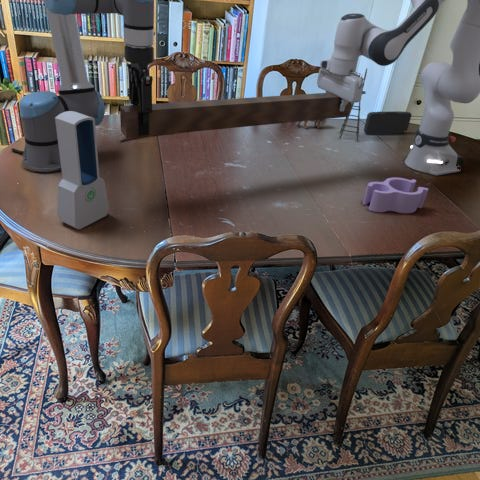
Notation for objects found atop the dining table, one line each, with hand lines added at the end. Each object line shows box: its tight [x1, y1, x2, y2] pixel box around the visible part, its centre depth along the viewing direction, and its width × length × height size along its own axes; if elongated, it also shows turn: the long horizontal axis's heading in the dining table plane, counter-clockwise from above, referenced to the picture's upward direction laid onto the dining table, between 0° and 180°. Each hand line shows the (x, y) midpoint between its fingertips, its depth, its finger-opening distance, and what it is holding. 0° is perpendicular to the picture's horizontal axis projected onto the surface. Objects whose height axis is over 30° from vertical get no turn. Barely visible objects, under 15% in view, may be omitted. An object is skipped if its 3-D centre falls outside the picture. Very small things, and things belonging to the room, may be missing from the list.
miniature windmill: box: [339, 68, 368, 142], centre depth 203 cm, size 9×8×30 cm
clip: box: [362, 177, 429, 214], centre depth 156 cm, size 20×12×7 cm, turn 109°
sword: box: [120, 136, 146, 142], centre depth 190 cm, size 31×3×1 cm, turn 126°
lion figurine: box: [296, 119, 325, 130], centre depth 215 cm, size 15×5×9 cm, turn 110°
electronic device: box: [55, 111, 110, 231], centre depth 124 cm, size 12×8×30 cm, turn 148°
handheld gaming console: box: [363, 110, 413, 135], centre depth 217 cm, size 23×3×10 cm, turn 108°
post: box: [119, 92, 352, 138], centre depth 147 cm, size 80×5×8 cm, turn 119°
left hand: (140, 131), depth 134 cm, fingers closed on post, 5 cm apart
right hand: (334, 107), depth 164 cm, fingers closed on post, 5 cm apart
